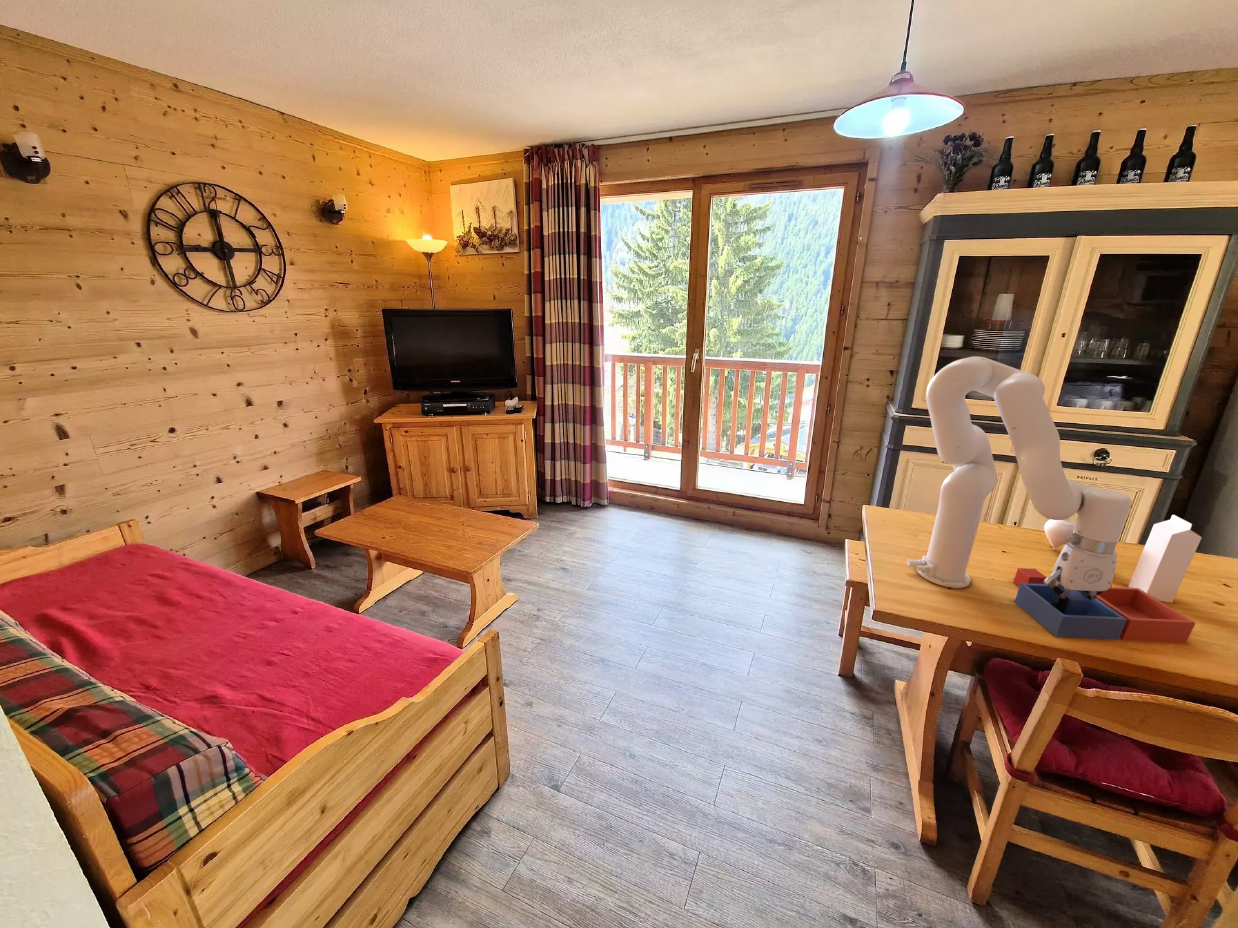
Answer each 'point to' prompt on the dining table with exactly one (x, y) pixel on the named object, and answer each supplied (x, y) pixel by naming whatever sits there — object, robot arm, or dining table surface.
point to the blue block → (1076, 604)
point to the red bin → (1146, 616)
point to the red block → (1029, 576)
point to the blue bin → (1093, 625)
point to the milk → (1165, 559)
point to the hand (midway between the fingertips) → (1068, 609)
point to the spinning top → (1058, 531)
